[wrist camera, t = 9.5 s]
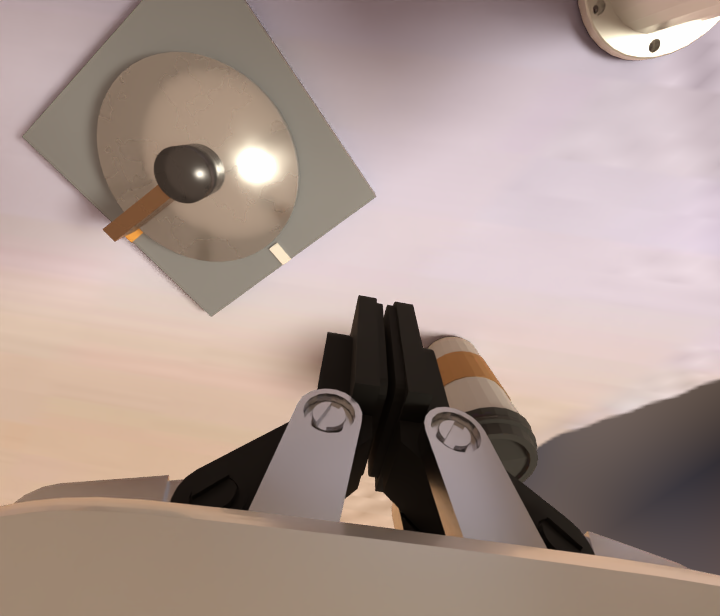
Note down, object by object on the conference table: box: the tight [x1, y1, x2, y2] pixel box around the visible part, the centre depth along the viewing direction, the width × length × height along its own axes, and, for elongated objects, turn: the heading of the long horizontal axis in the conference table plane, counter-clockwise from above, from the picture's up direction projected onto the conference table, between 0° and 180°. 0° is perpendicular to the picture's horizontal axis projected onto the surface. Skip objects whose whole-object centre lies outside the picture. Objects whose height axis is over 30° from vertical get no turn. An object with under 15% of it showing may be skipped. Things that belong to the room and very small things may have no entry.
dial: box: [97, 52, 300, 262], centre depth 28 cm, size 16×16×5 cm
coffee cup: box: [428, 336, 538, 482], centre depth 35 cm, size 8×8×15 cm
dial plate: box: [22, 0, 376, 317], centre depth 31 cm, size 21×21×2 cm
